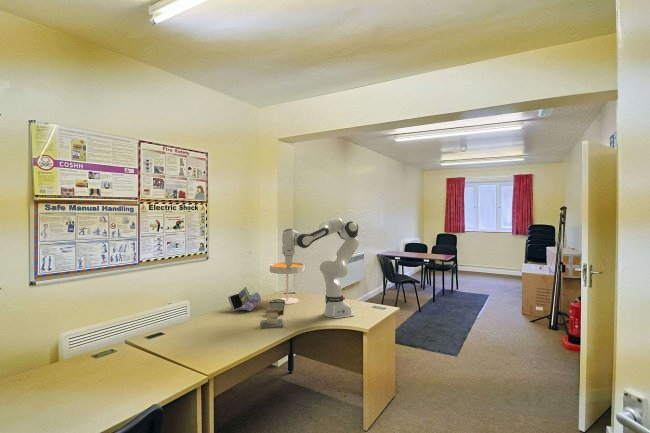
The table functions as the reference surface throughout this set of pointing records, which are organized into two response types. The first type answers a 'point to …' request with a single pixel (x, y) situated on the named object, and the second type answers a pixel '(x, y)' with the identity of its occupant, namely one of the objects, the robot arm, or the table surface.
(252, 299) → the pastel lumpy piece
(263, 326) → the mat
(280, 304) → the half chocolate cake
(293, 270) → the orange pedestal table
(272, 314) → the tall wooden block
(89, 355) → the table surface
